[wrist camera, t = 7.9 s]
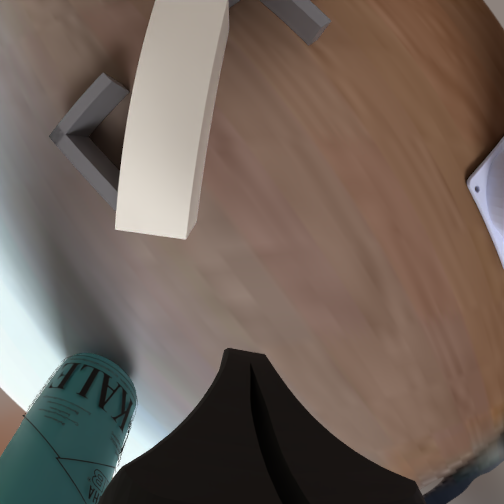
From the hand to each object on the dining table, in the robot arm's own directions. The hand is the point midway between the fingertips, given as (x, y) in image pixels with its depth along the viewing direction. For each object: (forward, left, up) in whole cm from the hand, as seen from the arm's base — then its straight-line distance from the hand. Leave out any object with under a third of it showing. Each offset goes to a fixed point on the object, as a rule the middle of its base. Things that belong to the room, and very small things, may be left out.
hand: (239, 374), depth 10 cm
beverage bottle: (+1, +13, -10) cm, 16 cm away
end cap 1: (+11, -1, -10) cm, 14 cm away
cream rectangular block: (+9, -4, -10) cm, 14 cm away
